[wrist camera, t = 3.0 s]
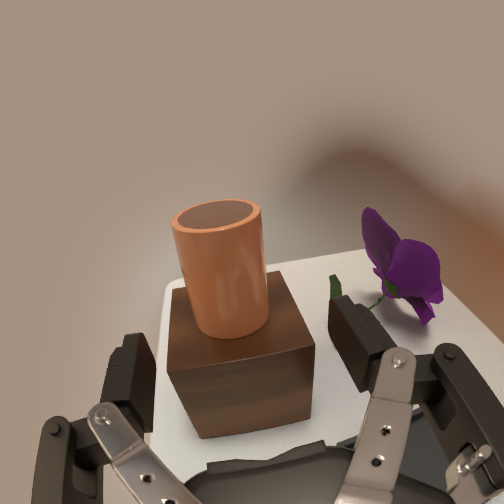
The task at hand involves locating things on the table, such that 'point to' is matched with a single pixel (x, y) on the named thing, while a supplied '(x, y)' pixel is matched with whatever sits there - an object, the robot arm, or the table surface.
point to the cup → (223, 266)
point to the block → (243, 368)
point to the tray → (419, 453)
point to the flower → (399, 267)
